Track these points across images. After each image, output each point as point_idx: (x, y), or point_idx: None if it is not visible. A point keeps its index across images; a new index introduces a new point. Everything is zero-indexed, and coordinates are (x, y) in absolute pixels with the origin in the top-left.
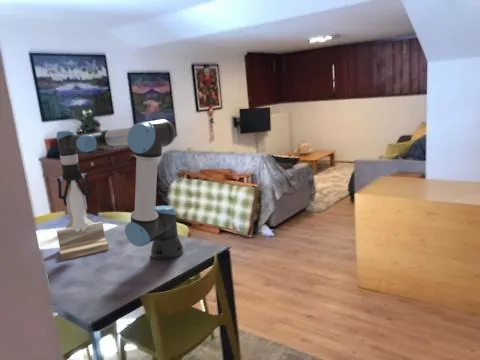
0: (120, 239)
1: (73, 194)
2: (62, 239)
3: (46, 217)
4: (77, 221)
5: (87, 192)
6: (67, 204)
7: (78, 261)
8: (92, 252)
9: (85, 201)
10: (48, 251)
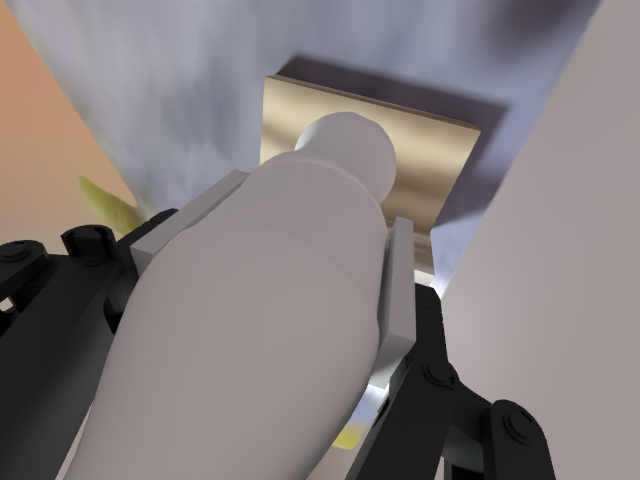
0: (216, 154)
1: (266, 329)
2: (414, 242)
3: (344, 439)
4: (365, 135)
5: (50, 283)
6: (408, 275)
7: (432, 32)
8: (342, 92)
9: (191, 209)
10: (454, 258)
